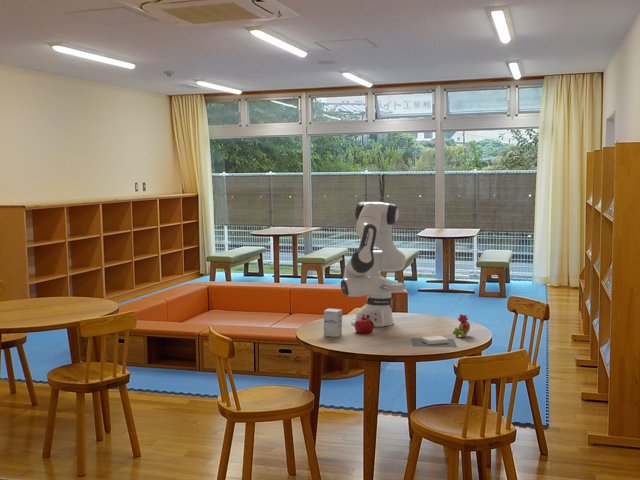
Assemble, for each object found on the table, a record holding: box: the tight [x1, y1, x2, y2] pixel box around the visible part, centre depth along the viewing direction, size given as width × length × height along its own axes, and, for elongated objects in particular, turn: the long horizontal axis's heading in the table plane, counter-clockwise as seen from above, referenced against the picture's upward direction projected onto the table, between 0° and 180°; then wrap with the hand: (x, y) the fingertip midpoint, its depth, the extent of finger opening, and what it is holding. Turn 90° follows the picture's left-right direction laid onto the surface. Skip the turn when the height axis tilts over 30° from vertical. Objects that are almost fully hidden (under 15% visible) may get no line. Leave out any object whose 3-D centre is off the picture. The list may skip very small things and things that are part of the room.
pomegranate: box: [354, 314, 375, 334], centre depth 330 cm, size 10×10×9 cm
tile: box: [421, 335, 449, 345], centre depth 308 cm, size 2×7×10 cm
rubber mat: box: [411, 337, 458, 348], centre depth 307 cm, size 20×16×1 cm
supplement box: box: [323, 308, 343, 338], centre depth 323 cm, size 7×7×13 cm
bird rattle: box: [452, 314, 471, 338], centre depth 322 cm, size 6×11×9 cm
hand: (403, 284), depth 304 cm, fingers closed
